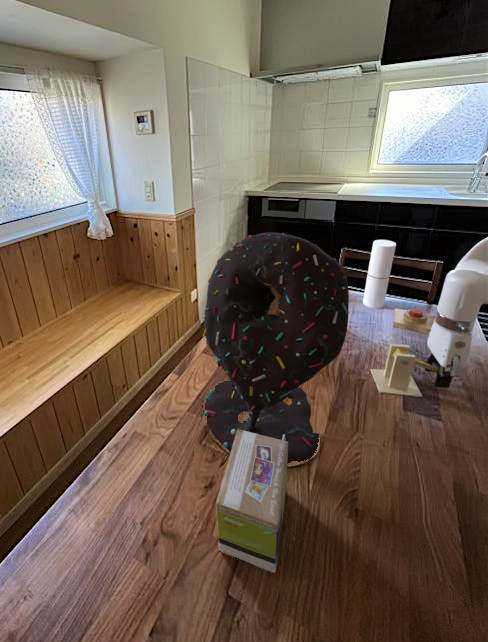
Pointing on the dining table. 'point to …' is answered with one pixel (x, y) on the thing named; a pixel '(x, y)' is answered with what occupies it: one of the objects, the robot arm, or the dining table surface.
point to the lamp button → (416, 312)
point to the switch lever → (421, 362)
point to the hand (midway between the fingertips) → (436, 378)
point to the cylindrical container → (379, 273)
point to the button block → (412, 321)
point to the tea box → (253, 499)
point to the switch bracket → (397, 373)
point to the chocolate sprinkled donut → (272, 336)
